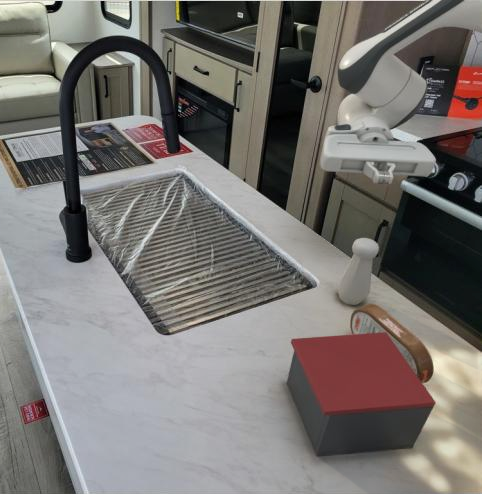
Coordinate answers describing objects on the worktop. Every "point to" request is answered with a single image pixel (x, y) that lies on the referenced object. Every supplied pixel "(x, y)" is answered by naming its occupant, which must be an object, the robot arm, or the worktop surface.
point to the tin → (394, 337)
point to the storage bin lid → (359, 374)
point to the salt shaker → (358, 272)
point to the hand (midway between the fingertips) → (383, 180)
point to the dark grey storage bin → (353, 422)
